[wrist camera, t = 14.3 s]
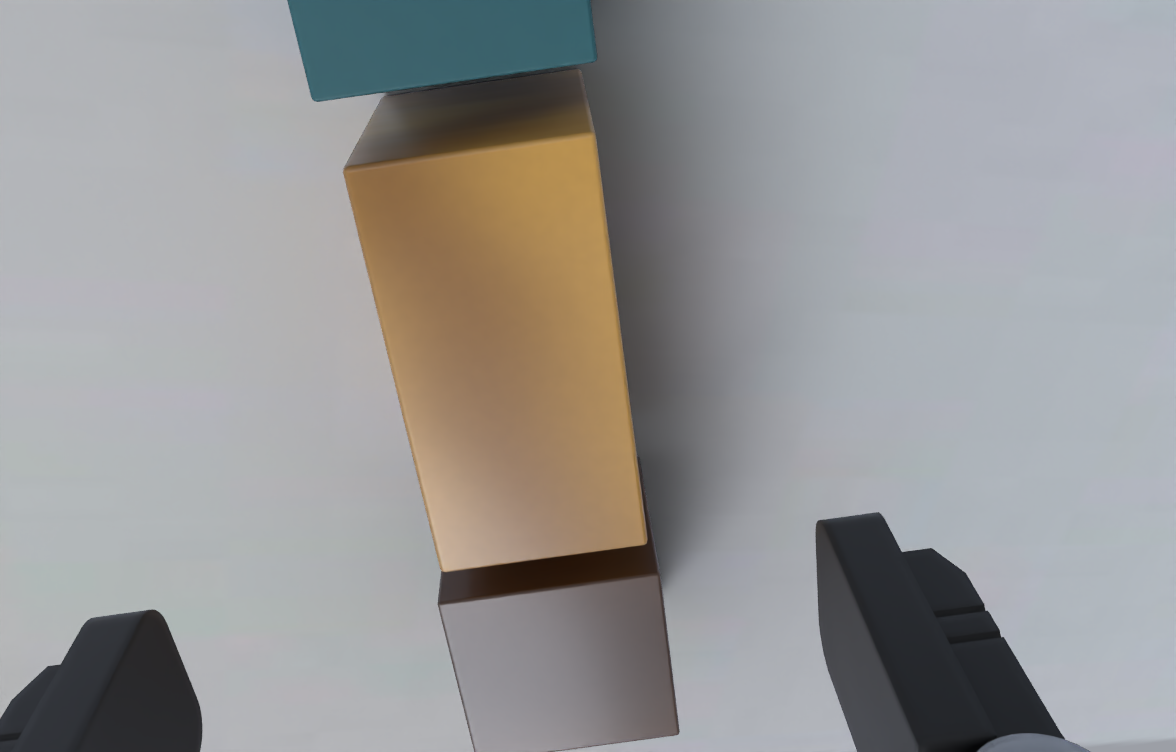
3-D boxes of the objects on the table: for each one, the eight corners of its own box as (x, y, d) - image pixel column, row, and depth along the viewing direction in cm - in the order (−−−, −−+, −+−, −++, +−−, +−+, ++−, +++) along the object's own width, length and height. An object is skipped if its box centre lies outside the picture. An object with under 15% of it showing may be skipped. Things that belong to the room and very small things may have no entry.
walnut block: (657, 602, 27) (679, 735, 23) (483, 626, 27) (476, 763, 23) (639, 454, 25) (660, 573, 21) (450, 480, 25) (436, 603, 21)
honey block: (580, 67, 21) (595, 131, 16) (626, 416, 24) (648, 545, 20) (380, 96, 21) (340, 168, 16) (456, 439, 24) (440, 574, 20)
